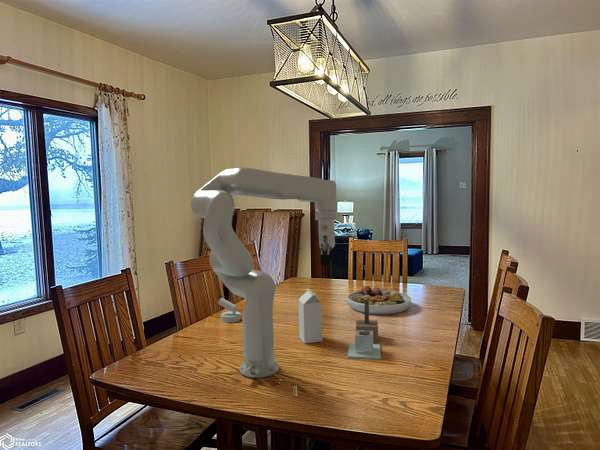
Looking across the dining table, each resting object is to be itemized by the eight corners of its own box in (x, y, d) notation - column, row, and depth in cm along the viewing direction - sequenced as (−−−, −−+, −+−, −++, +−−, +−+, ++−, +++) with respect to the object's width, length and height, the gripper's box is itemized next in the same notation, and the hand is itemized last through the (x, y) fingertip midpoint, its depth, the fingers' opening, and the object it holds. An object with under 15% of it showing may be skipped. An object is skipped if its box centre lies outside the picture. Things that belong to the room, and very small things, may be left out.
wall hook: (223, 295, 192) (243, 296, 188) (224, 315, 192) (244, 317, 189) (213, 300, 184) (234, 301, 180) (214, 321, 184) (235, 323, 181)
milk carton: (304, 344, 155) (303, 293, 153) (299, 337, 162) (298, 289, 160) (322, 341, 157) (321, 291, 155) (316, 335, 164) (316, 287, 162)
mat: (381, 359, 140) (381, 357, 140) (347, 357, 141) (347, 356, 141) (379, 345, 152) (379, 344, 152) (349, 344, 153) (349, 343, 153)
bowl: (424, 311, 193) (424, 294, 193) (367, 320, 182) (367, 302, 182) (387, 296, 221) (387, 282, 220) (336, 303, 210) (336, 288, 209)
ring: (373, 353, 143) (373, 336, 142) (355, 353, 144) (355, 335, 143) (372, 347, 149) (372, 330, 148) (355, 346, 150) (355, 330, 149)
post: (378, 342, 155) (377, 302, 153) (356, 342, 156) (355, 302, 155) (377, 335, 163) (377, 297, 161) (356, 334, 164) (356, 296, 162)
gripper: (335, 217, 139) (335, 268, 141) (338, 213, 156) (338, 259, 158) (312, 217, 140) (313, 267, 142) (317, 214, 158) (318, 259, 159)
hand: (326, 263), depth 150 cm, fingers open, 9 cm apart
